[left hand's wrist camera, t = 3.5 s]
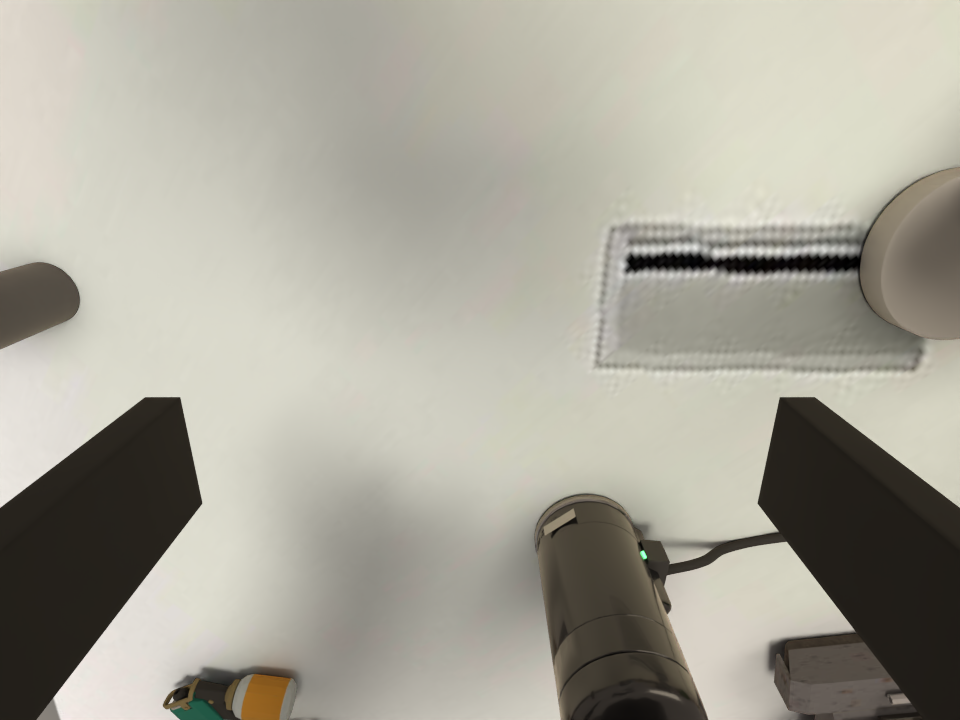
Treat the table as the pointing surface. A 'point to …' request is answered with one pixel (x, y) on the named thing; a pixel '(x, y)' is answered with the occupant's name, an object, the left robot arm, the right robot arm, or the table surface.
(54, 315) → the bottle
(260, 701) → the spray gun
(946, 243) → the bust sculpture
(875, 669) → the toy
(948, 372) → the table surface
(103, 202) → the table surface
